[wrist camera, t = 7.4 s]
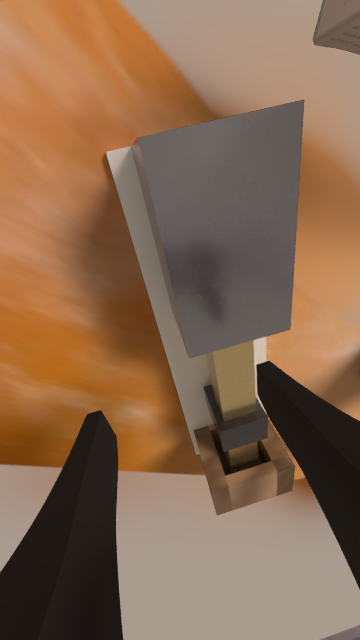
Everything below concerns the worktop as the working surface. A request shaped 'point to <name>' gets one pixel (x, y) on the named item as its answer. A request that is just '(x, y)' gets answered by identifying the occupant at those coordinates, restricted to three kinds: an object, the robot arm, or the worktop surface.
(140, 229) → the board
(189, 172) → the sleeve
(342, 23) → the skincare box
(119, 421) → the worktop surface
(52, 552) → the robot arm
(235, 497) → the socket
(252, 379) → the plug
